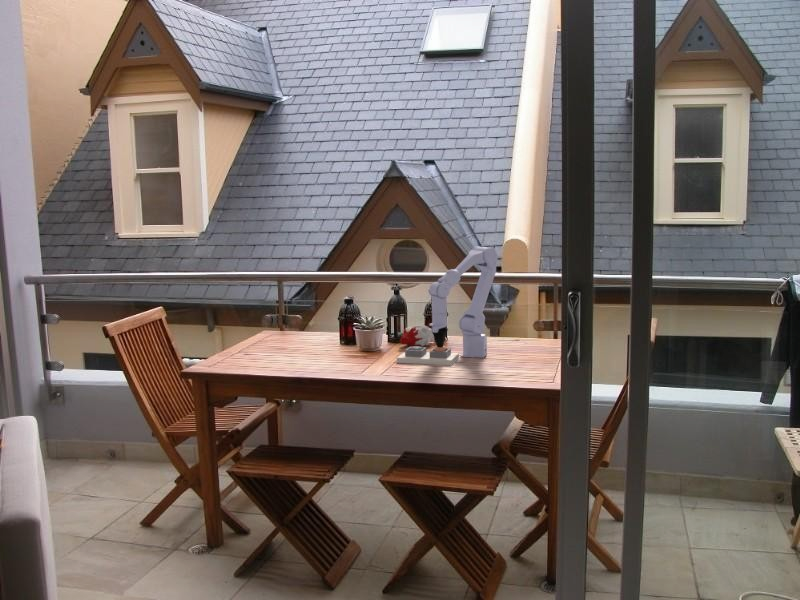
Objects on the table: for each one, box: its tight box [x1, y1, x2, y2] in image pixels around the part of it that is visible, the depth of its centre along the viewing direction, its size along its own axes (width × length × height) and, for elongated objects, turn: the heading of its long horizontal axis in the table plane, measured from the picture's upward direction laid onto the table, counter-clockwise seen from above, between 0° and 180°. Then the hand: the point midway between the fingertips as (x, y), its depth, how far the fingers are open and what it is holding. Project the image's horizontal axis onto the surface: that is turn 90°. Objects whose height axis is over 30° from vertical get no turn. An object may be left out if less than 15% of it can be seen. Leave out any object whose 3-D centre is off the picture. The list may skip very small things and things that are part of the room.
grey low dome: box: [409, 345, 423, 351], centre depth 316 cm, size 5×5×2 cm
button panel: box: [396, 346, 460, 366], centre depth 315 cm, size 22×12×4 cm, turn 72°
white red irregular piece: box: [399, 324, 434, 347], centre depth 341 cm, size 9×11×15 cm
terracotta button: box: [433, 345, 447, 352], centre depth 313 cm, size 5×5×2 cm
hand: (440, 347), depth 313 cm, fingers closed, pressing on terracotta button
